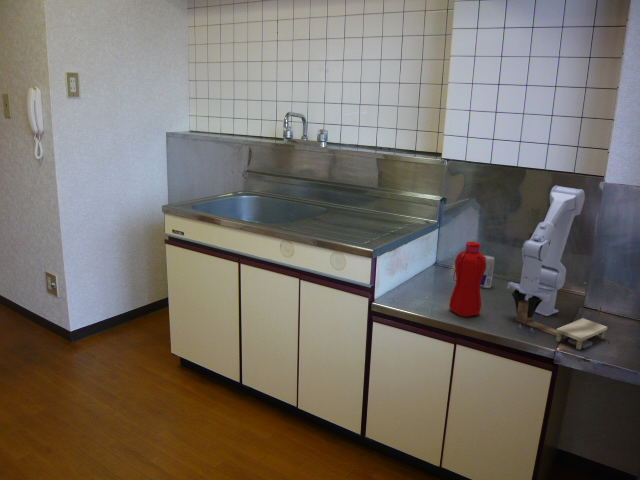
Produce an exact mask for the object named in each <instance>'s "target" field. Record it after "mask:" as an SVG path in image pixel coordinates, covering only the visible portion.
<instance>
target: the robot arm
mask: <svg viewBox="0 0 640 480" xmlns="http://www.w3.org/2000/svg"><path fill="white" fill-rule="evenodd" d="M585 200H586V195H585V191H584V189H582V188H580V189H579V188H573V187H565V186H560V185H554V186H553V187H552V188H551V190H550V193H549V204H550V206H549V208H548V210H547V213H546V216H545V218H544V220H543V221H541V222H539V223H538V224H537V225H536V228H535V229H534V232H533V233H532V235H531V237H530V238H529V239H528V240H525V241H524V243H523V245H522V248H521V255H522V259H521V260H522V261H521V262H522V271H521V276H520V283H516V282H513V281H510V282H507V285H506V286H507V287H506V288H507V289H508V290H513V291H514V292H512V293H511V295H512V297H513V299H514V303H515V309H516V312H517V310H518V304H519V301H521V300H524V299H525V300H528V303H529V308H528V318H531V317H532V318H533V316H534V314H535V313H537V314H540V315H542V316H545V317H548V316H551V315H554V314H557V313H559V310H558V309H557V308H556V309H555V306H556V299H557V295H558V294H557V293H558V290H561V288H563V287H564V284H565V282H566V274H567V269H566V267H565V265H564V264H563V263H562V261H561V260H562V258H563V255H564V251H565V247H566V244H567V240H568V237H569V235H570V231H571V227H572V224H573V221H574V220H575V219H574V218H575V217H576V216H579V215H580V214H581V212H582V210H583V206H584V203H585Z"/></svg>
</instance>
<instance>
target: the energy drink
mask: <svg viewBox="0 0 640 480" xmlns="http://www.w3.org/2000/svg"><path fill="white" fill-rule="evenodd" d="M482 255H483V254H482ZM483 256H484V257H485V258H486V270H485V272H484V275H483V277H482V280H481V283H480V289H490V288H492V283H493V276H494V269H495V263H496V262H495V257H494V256H491V255H488V254H487V255H483Z"/></svg>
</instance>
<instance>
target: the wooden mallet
mask: <svg viewBox="0 0 640 480" xmlns="http://www.w3.org/2000/svg"><path fill="white" fill-rule="evenodd" d="M528 308H529V303H528V300H525V299H524V300H521V301H519V304H518V310H517V311H516V318H515V321H516V322H518V323H520V324H524V325H527V326H530V327H533V328H535V329H537V330H540V331H543V332H545V333H548V334H551V335H553V336H555V337H557V332H556V329H557V328H556V329H555V328H553V327H550V326H547V325H545V324H543V323H540V322H538V321H535V320H532V319H533V317H531V318H528Z"/></svg>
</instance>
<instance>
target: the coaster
mask: <svg viewBox="0 0 640 480" xmlns="http://www.w3.org/2000/svg"><path fill="white" fill-rule="evenodd" d="M568 342H569V343H568ZM567 343H568V344H570V343H572V344H571V345H573V344H574V345H573V346H575V345H576V344H577V340H576V339H573V338H571V337H570V338H569V339H567ZM592 346H593V342H592V341H589V340H588V339H586V340H584V341H582V346H581V349H582V348H584V349H586V348H588V347H592Z"/></svg>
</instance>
